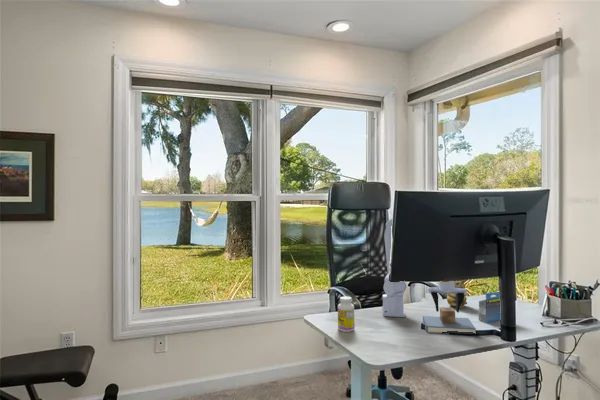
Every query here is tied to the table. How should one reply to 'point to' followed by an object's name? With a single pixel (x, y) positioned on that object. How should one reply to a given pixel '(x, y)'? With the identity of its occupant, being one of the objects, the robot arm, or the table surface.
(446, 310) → the walnut block
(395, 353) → the table surface
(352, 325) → the supplement bottle
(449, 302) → the decorative figurine
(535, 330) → the table surface
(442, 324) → the book
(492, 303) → the label tape box
